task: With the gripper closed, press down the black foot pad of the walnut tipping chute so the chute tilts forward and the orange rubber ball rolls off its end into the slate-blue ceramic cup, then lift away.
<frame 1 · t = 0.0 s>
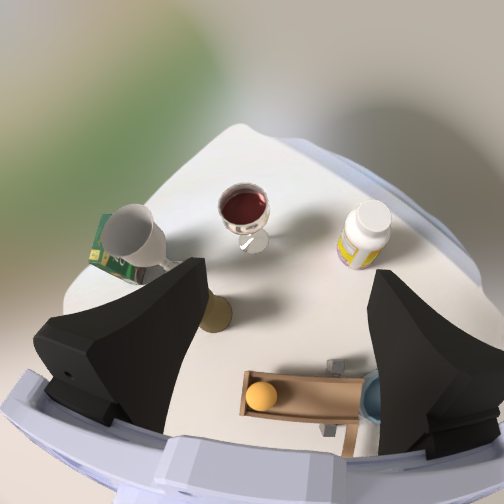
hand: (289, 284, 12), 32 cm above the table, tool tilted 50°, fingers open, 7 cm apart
cork: (213, 314, 44), on the table
tipping chute: (327, 432, 31), point 6 cm above the table, hinge at -6.0°, touching ball
chalice: (179, 274, 48), on the table
cup: (378, 394, 36), on the table
chute stand: (328, 394, 38), on the table
supplement bottle: (354, 252, 45), on the table
ball: (261, 396, 33), point 7 cm above the table, tilted 10°, touching tipping chute
wineglass: (253, 240, 48), on the table
coffee box: (141, 265, 49), on the table
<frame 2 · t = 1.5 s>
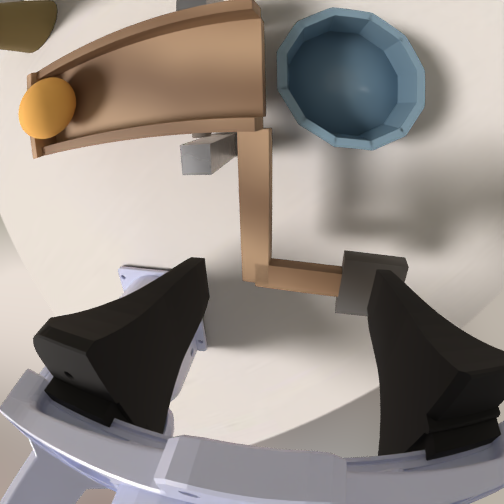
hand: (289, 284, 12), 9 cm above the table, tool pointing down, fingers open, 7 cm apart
cork: (39, 26, 14), on the table
tipping chute: (186, 161, 14), point 6 cm above the table, hinge at -6.0°, touching ball
chalice: (10, 11, 12), on the table
cup: (344, 82, 15), on the table
chute stand: (221, 80, 16), on the table
ball: (47, 107, 12), point 7 cm above the table, tilted 10°, touching tipping chute
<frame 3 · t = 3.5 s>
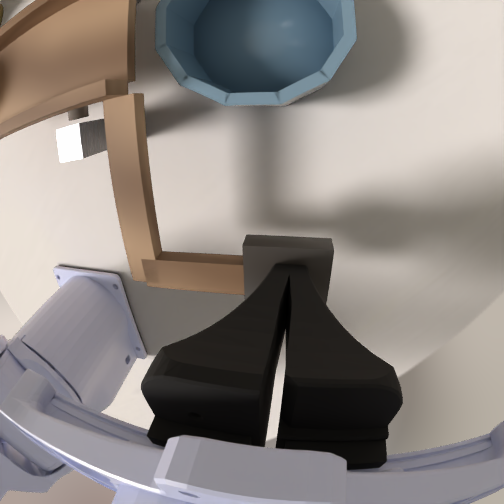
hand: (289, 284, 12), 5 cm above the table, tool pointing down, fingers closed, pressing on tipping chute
tipping chute: (59, 146, 10), point 6 cm above the table, hinge at 1.3°, touching ball, gripper
cup: (263, 36, 11), on the table
chute stand: (127, 57, 13), on the table
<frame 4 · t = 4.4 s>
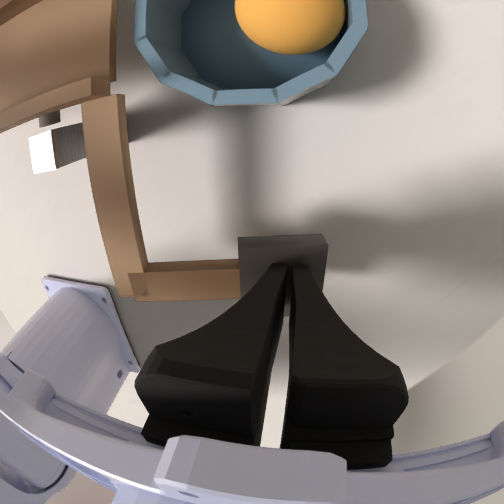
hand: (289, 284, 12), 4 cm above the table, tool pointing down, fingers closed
tipping chute: (31, 156, 8), point 6 cm above the table, hinge at 12.7°, touching gripper
cup: (259, 26, 10), on the table
chute stand: (110, 54, 11), on the table
ball: (290, 8, 7), point 3 cm above the table, tilted 152°, touching cup
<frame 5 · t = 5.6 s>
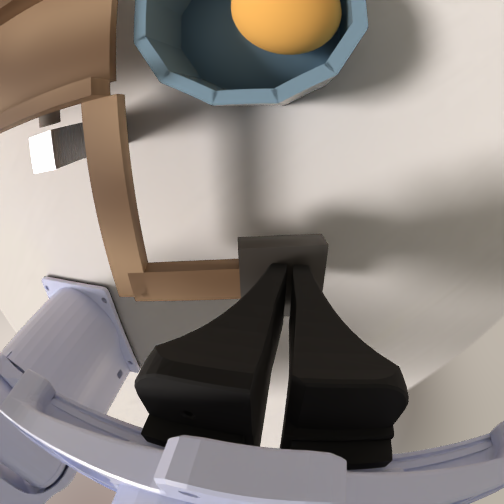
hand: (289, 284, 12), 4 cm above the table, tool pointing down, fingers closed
tipping chute: (31, 156, 8), point 6 cm above the table, hinge at 12.7°, touching gripper
cup: (259, 26, 10), on the table
chute stand: (110, 54, 11), on the table
ball: (286, 8, 7), point 3 cm above the table, tilted 156°, touching cup
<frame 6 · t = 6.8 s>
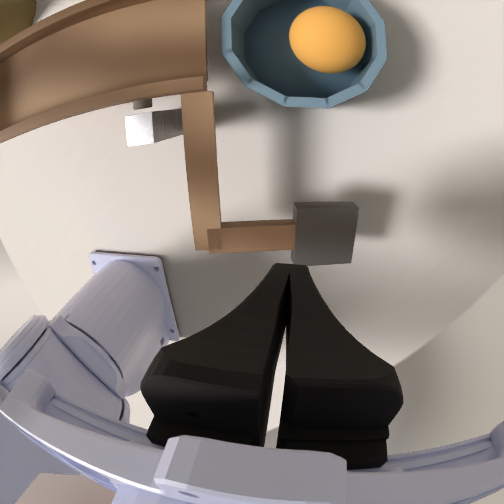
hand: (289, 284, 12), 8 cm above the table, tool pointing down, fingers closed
cork: (20, 22, 13), on the table
tipping chute: (130, 131, 12), point 6 cm above the table, hinge at 12.7°
cup: (304, 47, 14), on the table
chute stand: (179, 57, 15), on the table
ball: (327, 39, 11), point 3 cm above the table, tilted 160°, touching cup
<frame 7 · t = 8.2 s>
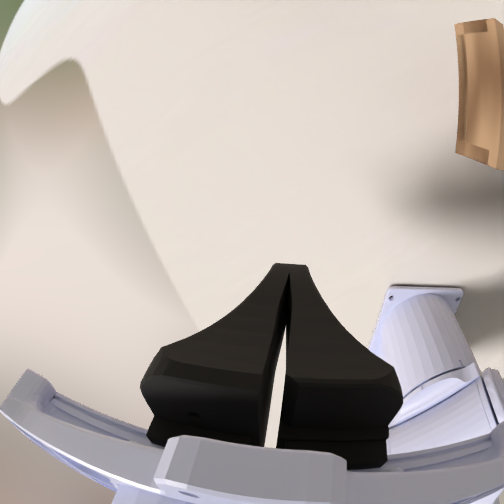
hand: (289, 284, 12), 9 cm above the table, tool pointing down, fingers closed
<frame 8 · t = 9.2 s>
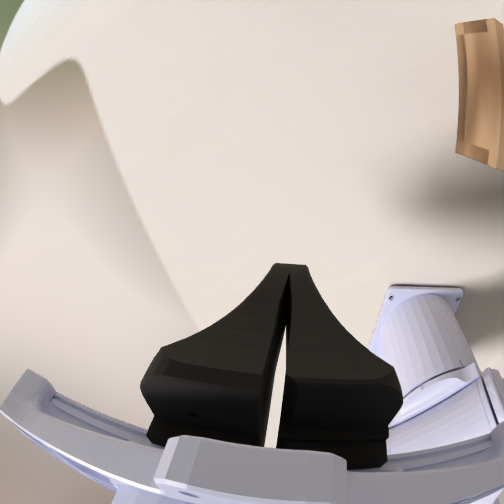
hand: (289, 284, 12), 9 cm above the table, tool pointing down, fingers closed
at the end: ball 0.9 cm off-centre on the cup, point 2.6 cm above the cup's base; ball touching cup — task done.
